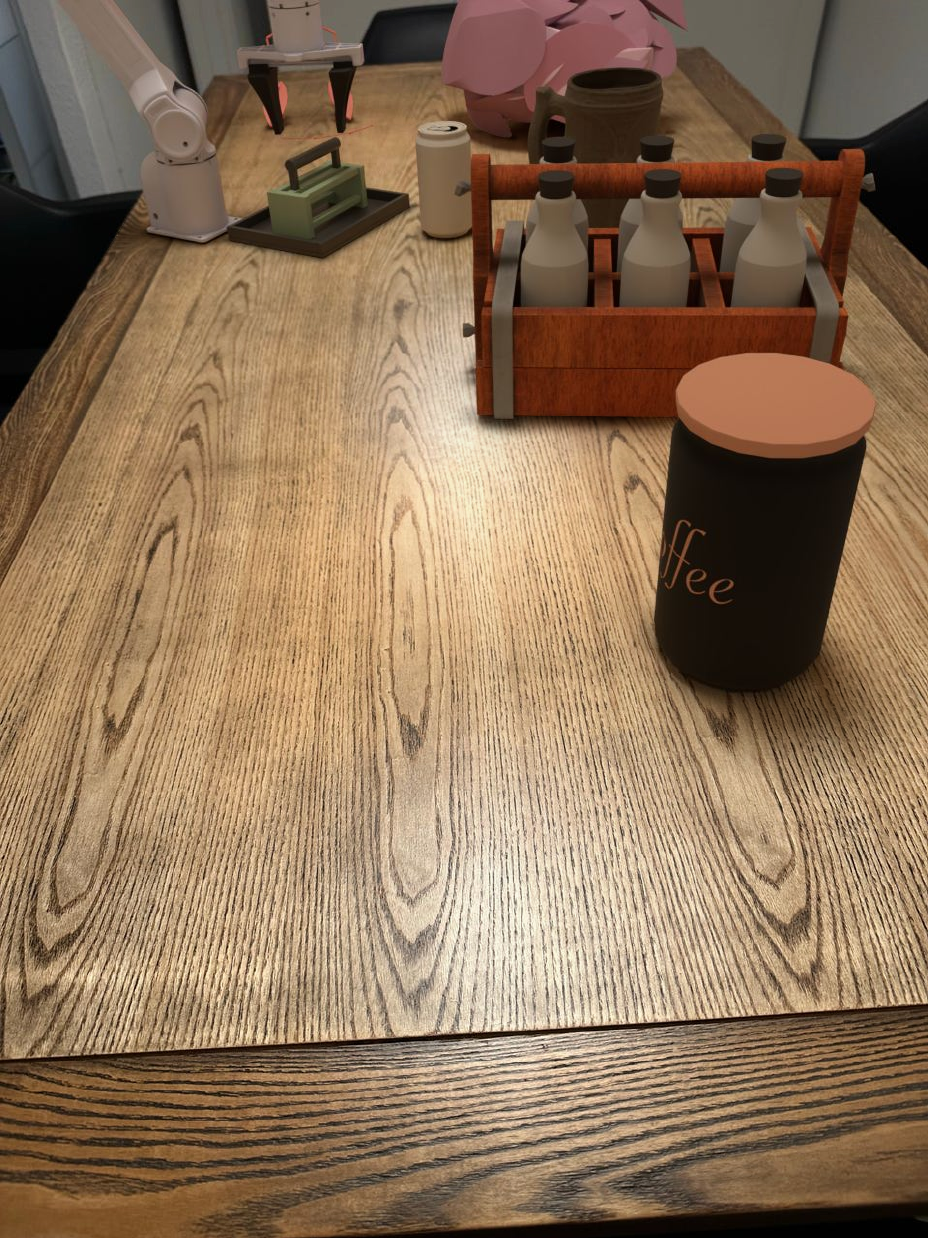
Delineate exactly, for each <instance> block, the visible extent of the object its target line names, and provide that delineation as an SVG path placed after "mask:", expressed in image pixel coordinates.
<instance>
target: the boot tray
mask: <svg viewBox="0 0 928 1238" xmlns="http://www.w3.org/2000/svg"><path fill="white" fill-rule="evenodd" d="M366 192H367V203H368V206H366V207H365V208H361V207H354V206H352V207H350V208H349V209H347V210H345V211H344V212H342V213H340V214H338V215H337V216H335V217H333V218H331V219H330V220H328V221H326V222H325V223H323V224H321V225H319V226H318V227H316V228H314V234H315V237H314V238H312V239H304V238H298V237H292V236H286V235H281V234H275V233H273V230H272V224H271V217H270V211H269V205H267V206H265V207H263V208H261V209H259V210H257V211H254V212H253V213H251V214H249V215H247V216H245V217H243V218H242V219H241V220H239V221H237V222H235V223H233V224H231V225H229V226H227V231H226V232H227V236H228V241H231V242H236V243H241V244H246V245H251V246H257V247H261V248H262V247H263V248H268V249H274V250H278V251H284V252H289V253H293V254H300V255H305V256H310V257H316V258H322V259H324V258H326V257H327V256H330V255H331V254H332V253H334V252H336V251H337V250H340V249H341V248H343V247H344V246H347V245H348V244H349V243H351V242H353V241H354V240H356V239H358V238H359V237H362V236H364V234H367V233H368V232H370V231H371V230H374V229H375V228H377V227H378V226H380V225H382V224H383V223H386V222H387V221H388V220H391V219H392V218H393V217H395V216H397V215H398V214H400V213H402V212H404V211H405V210H407V209H409V208H410V207H411V206H410V193H406V192H400V191H394V190H387V189H380V188H373V187H367V186H366ZM324 193H325V192H324ZM322 194H323V193H322ZM320 195H321V194H320ZM315 198H316V197H315ZM313 199H314V198H313ZM311 200H312V199H311ZM335 205H337V204H334V203H328V202H326V203H324V204H323V205H321V206H319V207H317V208H315V209H314V210H312V218H314V217H315V216H317V215H319V214H321V213H322V212H324V211H326V210H328V209H330V208H331V207H333V206H335Z"/></svg>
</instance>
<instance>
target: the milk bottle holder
mask: <svg viewBox="0 0 928 1238" xmlns="http://www.w3.org/2000/svg"><path fill="white" fill-rule="evenodd" d="M787 140H788V138H786V137H785V136H783V135H781V134H775V133H762V134H761V133H759V134H755V135H753V136H752V137H751V140H750V141H751V153H749V154H748V155H747V159H746V161H699V162H698V161H697V162H690V161H689V162H688V161H687V162H676V159H675V157H674V155H672V154H673V150H674V145H675V138H673V137H671V136H668V135H659V134H658V135H655V136H647V137H644V138H641V140H640V147H641V155H640V156H639V157H638V159H637V163H596V164H577V160H576V158H575V157H574V156H573V154H574V148H575V142H576V141H575V140H574V139H572V138H568V137H564V136H552V137H547V139H544V140H543V141H542V149H543V157H542V158H541V159H540V163H539V164H529V163H526V164H525V163H522V164H521V163H520V164H517V163H515V164H513V163H511V164H508V163H507V164H492V158H491V154H490V153H471V182H467V181H464V180H462V179H460V180H459V182H458V184H457V186H456V189H455V194H454V195H456V196H459V197H460V196H462V195H464V194H466V193H467V192H471V206H472V227H471V232H472V289H473V291H472V292H473V315H474V316H473V319H474V320H473V321H474V322H473V323H474V325H472V324H471V323H469V322H462V338H471V336H473V335H474V351H475V399H476V400H475V401H476V415H477V416H493V419H494V420H496V419H497V420H514V418H515V416H549V417H550V416H553V417H554V416H555V417H556V416H557V417H558V416H561V417H562V416H563V417H564V416H565V417H647V418H648V417H649V418H651V417H655V418H657V417H659V418H662V417H666V418H678V412H677V406H676V389H677V387H678V385H679V383H680V381H681V379H682V378H683V376H684V375H685V374H686V373H688V372H689V371H691V370H692V369H693V368H695V367H696V366H698V365H700V364H702V363H705V362H708V361H711V360H714V359H717V358H719V357H725V356H731V355H738V354H745V353H779V354H786V355H794V356H802V357H807V358H810V359H814V360H817V361H821V362H825V363H828V364H832V365H834V366H836V367H838V368H840V369H842V370H844V371H846V368H845V366H844V364H843V361H841V357H842V352H843V348H844V345H845V340H846V336H847V328H848V323H849V322H848V321H849V314H848V311H847V308H846V307H844V303H845V300H844V298H843V297H844V293H845V292H844V291H845V285H846V282H847V281H846V280H847V275H848V265H849V254H850V247H851V242H852V238H853V232H854V227H855V222H856V217H857V211H858V206H859V201H860V196H861V191H862V189H864V190H865V191H867V192H868V193H869V192H874V191H876V185H875V184H876V183H875V179H874V174H873V173H872V172H870V173H868V174H865V168H866V156H865V152H864V150H863V149H861V148H849V149H847V148H846V149H845V148H844V149H841V150H840V152H839V153H838V159H837V160H788V161H787V159H786V158H787V157H786V155H785V154H783V153H784V151H785V147H786V143H787ZM804 198H806V199H807V198H808V199H809V198H830V202H829V209H828V213H827V219H826V225H825V231H824V237H823V241H822V244H821V247H820V245H819V242H818V240H817V237H816V236H815V233H814V231H813V229H812V227H811V226H805V223H804V221H803V219H802V218H797V212H798V209H799V206H800V204H801V202H802V200H803V199H804ZM581 199H629V201H628V203H627V204H626V206H625V209H624V211H623V213H622V215H621V219H620V224H619V228H588V226H589V225H588V216H587V213H586V210H585V208H584V206H583V203H582V201H581ZM683 199H686V200H687V199H734V200H733V202H732V204H731V206H730V207H729V210H728V212H727V215H726V219H725V224H724V226H721V227H715V226H713V227H710V226H708V227H704V226H703V227H696V226H695V227H684V215H683V212H682V209H681V206H680V204H681V202H682V200H683ZM493 201H532V204H531V205H530V208H529V210H528V212H527V216H526V221H525V220H520V219H519V220H517V219H515V220H514V219H513V220H512V219H511V220H510V219H509V220H505V225H504V228H496V232H495V233H496V234H495V240H494V244H493ZM525 222H526V223H525Z"/></svg>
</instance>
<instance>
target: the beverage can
mask: <svg viewBox="0 0 928 1238" xmlns="http://www.w3.org/2000/svg"><path fill="white" fill-rule="evenodd" d="M467 130H468V127H467V124H465V123H463V122H460V121H454V120H438V121H437V120H436V121H431V122H426V123H424V124H421V125H420V126H418V127H417V132H418V134H417V136H416V138H415V140H414V141H415V157H416V173H417V185H418V188H417V189H418V201H419V202H418V203H419V214H420V215H419V216H420V227H421V230H423V231H424V232H425V233H426V234H427V235H428V236H430V237H433V238H437V239H438V238H439V239H453V238H459V237H461V236H464V235H466V234H467V233H469V230H470V229H472V206H471V192H467V193H466V194H464V195H462V196H460V197H459V196H456V195H454V194H455V189H456V186H457V184H458V182H459V180H460V179H462V180H464V181H467V182H471V157H472V149H471V147H472V146H471V145H472V144H471V136H470V135H469V132H467Z"/></svg>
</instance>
